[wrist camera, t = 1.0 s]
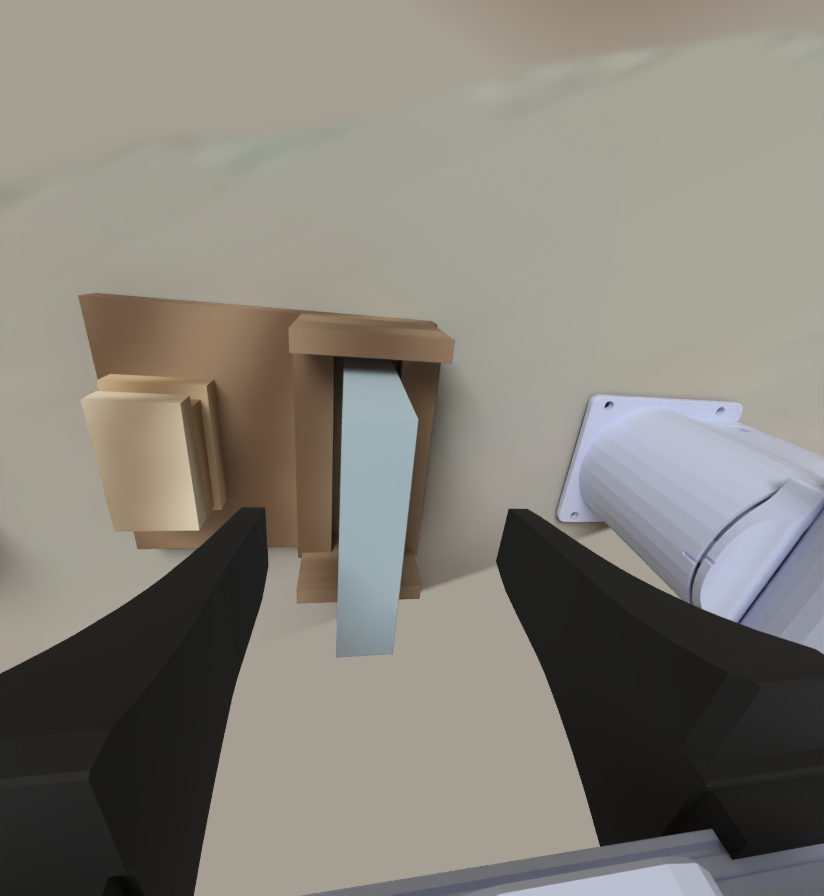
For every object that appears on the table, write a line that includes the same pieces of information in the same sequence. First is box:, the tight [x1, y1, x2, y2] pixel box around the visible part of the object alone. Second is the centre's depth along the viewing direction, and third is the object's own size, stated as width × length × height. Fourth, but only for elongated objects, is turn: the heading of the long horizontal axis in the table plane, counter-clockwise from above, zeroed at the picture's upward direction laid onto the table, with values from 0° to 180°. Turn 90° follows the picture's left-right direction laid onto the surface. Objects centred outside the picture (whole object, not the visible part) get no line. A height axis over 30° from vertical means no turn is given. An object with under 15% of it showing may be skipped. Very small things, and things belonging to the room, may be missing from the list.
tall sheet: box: [336, 356, 418, 657], centre depth 16 cm, size 2×9×8 cm, turn 175°
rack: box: [78, 293, 455, 604], centre depth 17 cm, size 14×12×5 cm
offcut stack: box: [80, 374, 227, 531], centre depth 17 cm, size 4×6×3 cm, turn 175°
